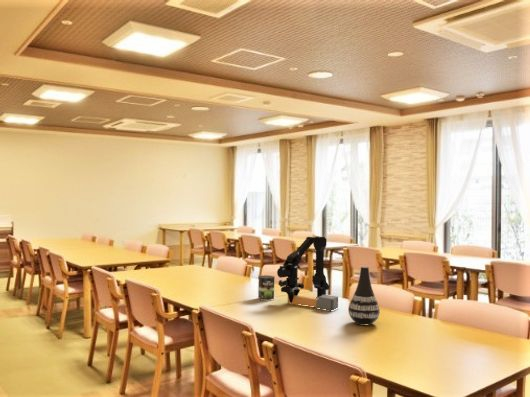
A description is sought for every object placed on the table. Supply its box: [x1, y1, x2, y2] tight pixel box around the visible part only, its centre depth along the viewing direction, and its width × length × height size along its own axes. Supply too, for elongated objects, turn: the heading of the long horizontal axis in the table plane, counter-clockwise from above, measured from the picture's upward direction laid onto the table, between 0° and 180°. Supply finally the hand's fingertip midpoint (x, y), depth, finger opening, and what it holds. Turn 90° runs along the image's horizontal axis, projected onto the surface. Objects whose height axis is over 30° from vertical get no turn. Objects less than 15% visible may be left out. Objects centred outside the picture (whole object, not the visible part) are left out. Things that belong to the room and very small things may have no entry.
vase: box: [348, 266, 381, 325], centre depth 251 cm, size 16×16×30 cm
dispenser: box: [315, 294, 339, 310], centre depth 281 cm, size 10×8×7 cm
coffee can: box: [257, 275, 275, 301], centre depth 306 cm, size 10×10×14 cm
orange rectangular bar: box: [287, 295, 317, 307], centre depth 290 cm, size 20×3×5 cm, turn 58°
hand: (292, 301), depth 294 cm, fingers closed on orange rectangular bar, 3 cm apart
